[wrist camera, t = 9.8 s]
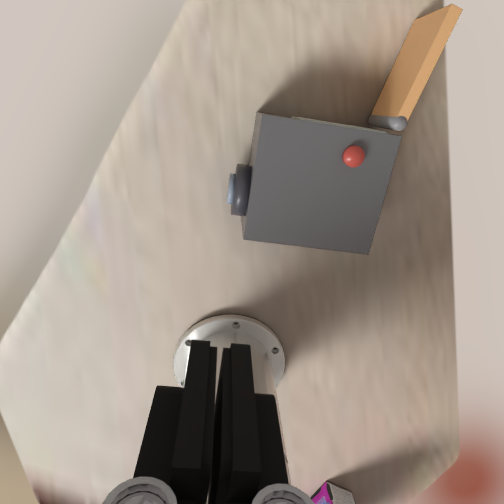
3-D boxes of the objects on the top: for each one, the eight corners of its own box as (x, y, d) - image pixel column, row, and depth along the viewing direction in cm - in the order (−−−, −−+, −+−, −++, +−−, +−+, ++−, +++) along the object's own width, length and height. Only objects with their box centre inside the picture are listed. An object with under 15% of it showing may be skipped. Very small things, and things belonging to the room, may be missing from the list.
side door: (365, 123, 34) (390, 127, 29) (413, 19, 31) (450, 3, 26) (381, 130, 34) (408, 135, 29) (429, 27, 32) (470, 12, 26)
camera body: (348, 232, 38) (370, 257, 32) (224, 216, 37) (223, 239, 31) (374, 128, 35) (405, 134, 29) (238, 107, 33) (239, 108, 27)
